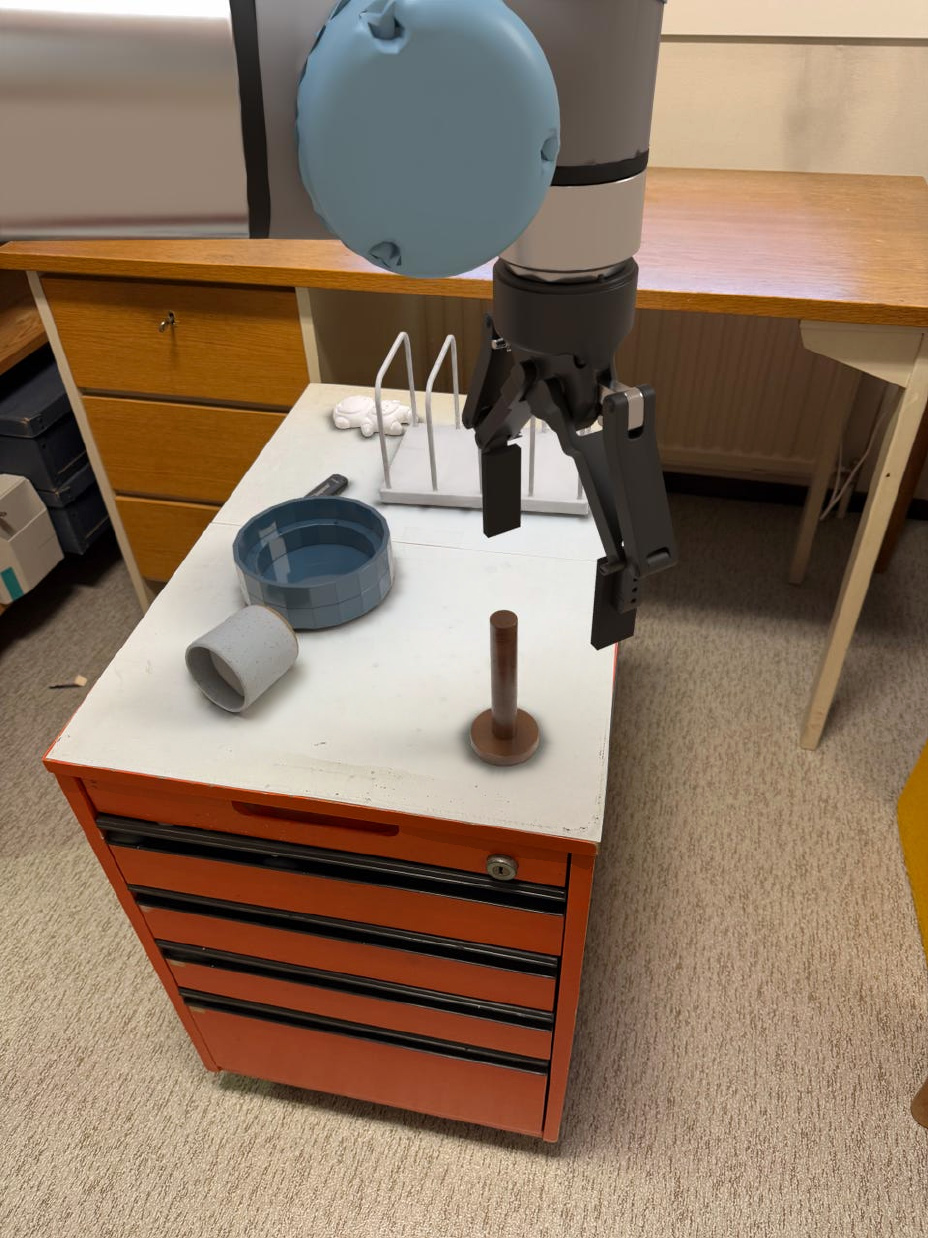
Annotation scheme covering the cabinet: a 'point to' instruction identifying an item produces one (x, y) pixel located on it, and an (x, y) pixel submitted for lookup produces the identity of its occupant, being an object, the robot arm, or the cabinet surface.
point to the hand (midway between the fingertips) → (552, 581)
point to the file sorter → (470, 457)
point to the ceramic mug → (242, 656)
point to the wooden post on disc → (504, 701)
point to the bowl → (315, 560)
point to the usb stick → (329, 486)
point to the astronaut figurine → (371, 415)
